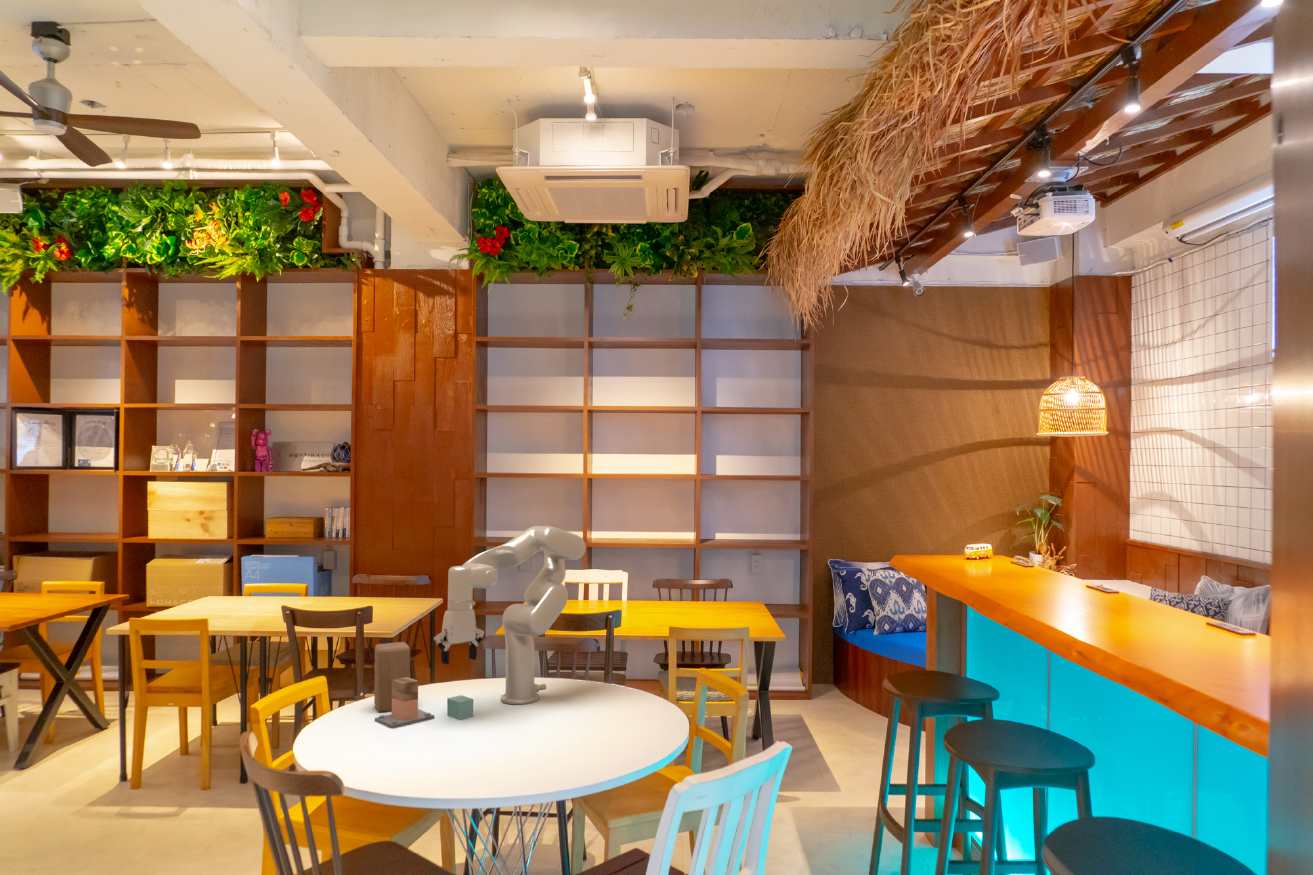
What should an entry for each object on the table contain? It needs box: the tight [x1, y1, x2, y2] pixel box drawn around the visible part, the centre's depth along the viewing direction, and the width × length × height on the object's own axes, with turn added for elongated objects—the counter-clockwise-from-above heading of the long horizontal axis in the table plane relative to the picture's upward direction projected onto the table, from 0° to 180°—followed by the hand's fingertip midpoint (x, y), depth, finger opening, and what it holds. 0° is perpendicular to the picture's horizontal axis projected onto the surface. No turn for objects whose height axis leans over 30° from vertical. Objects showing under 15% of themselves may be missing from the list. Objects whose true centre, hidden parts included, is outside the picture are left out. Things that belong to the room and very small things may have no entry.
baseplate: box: [374, 698, 435, 729], centre depth 254 cm, size 14×11×6 cm
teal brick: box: [446, 694, 474, 721], centre depth 258 cm, size 5×7×6 cm
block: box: [373, 641, 411, 713], centre depth 269 cm, size 10×10×20 cm
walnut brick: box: [392, 677, 419, 702], centre depth 254 cm, size 5×7×6 cm
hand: (459, 661), depth 258 cm, fingers open, 9 cm apart
